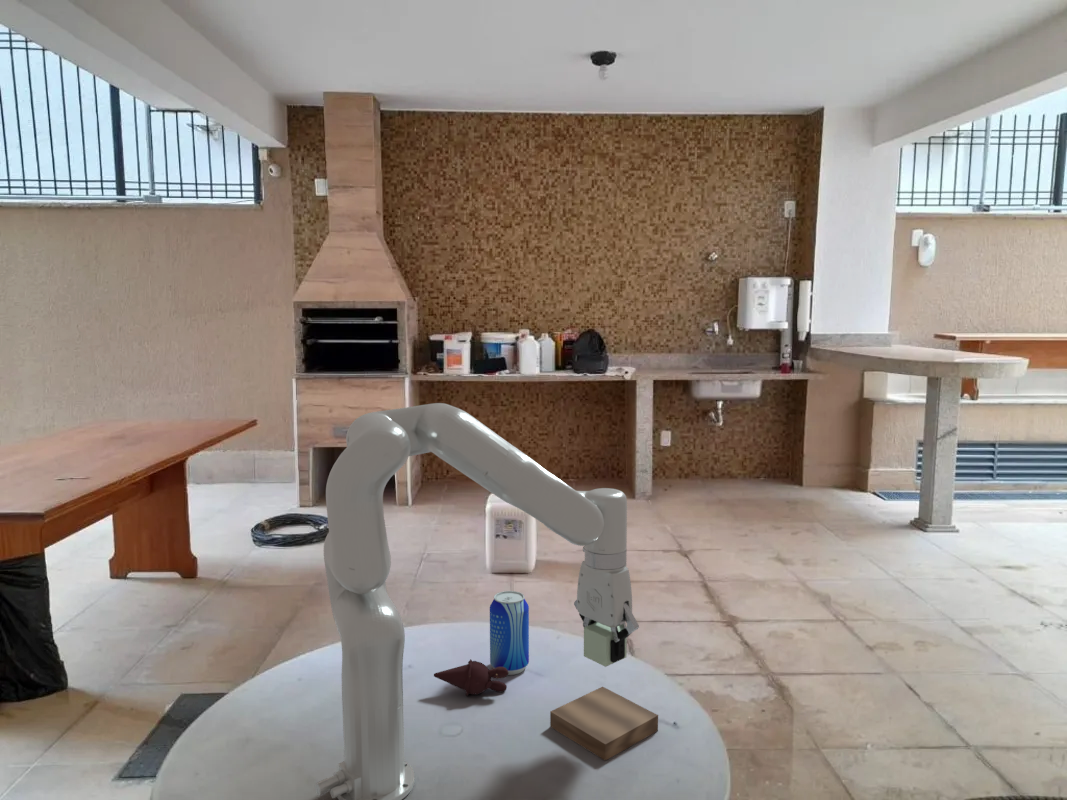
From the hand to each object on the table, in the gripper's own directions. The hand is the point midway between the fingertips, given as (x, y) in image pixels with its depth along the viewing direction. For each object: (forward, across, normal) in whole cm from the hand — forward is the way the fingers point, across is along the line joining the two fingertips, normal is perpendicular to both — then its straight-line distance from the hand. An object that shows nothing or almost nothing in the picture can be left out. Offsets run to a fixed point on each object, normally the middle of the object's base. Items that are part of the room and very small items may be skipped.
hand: (604, 652), depth 134 cm
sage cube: (+1, 0, 0) cm, 1 cm away
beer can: (+15, -30, +2) cm, 34 cm away
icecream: (+15, -27, -11) cm, 32 cm away
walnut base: (+15, 0, 0) cm, 15 cm away
